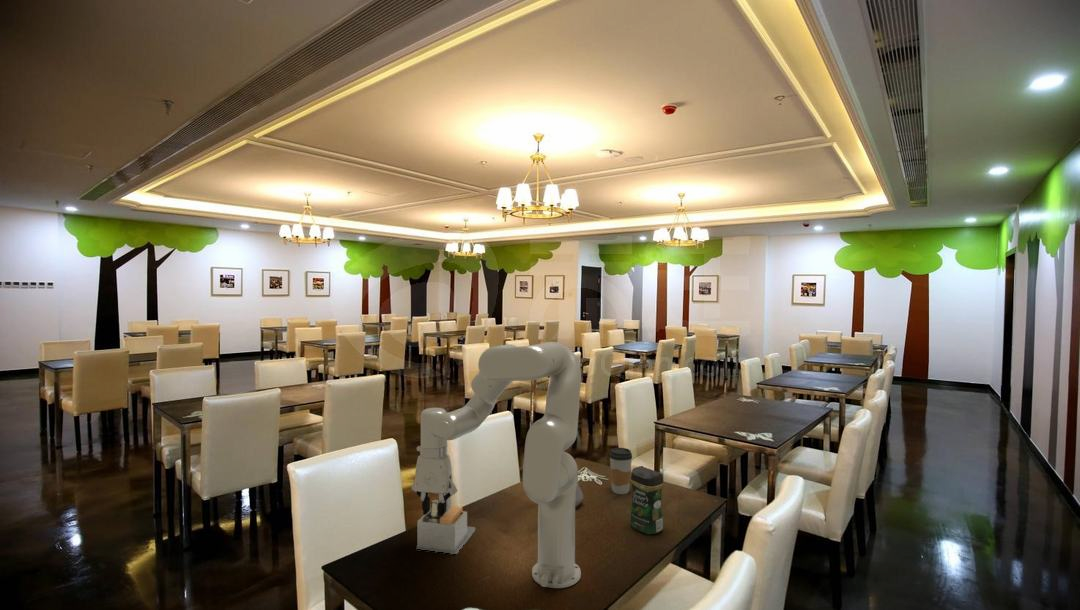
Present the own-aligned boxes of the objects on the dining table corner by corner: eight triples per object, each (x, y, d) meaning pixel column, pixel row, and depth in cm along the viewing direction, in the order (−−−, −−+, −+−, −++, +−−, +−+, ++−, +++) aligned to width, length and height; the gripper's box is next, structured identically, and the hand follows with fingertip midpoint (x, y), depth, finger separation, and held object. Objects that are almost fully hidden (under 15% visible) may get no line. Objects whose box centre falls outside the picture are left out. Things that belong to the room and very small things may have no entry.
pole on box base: (456, 554, 141) (456, 483, 141) (416, 549, 144) (416, 479, 144) (475, 530, 156) (475, 465, 156) (438, 526, 159) (438, 462, 158)
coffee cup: (635, 489, 188) (635, 449, 188) (626, 497, 181) (627, 455, 181) (614, 485, 193) (614, 446, 192) (605, 492, 186) (605, 451, 185)
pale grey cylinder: (437, 531, 147) (438, 504, 146) (428, 530, 147) (429, 502, 147) (441, 527, 149) (442, 500, 149) (432, 525, 150) (433, 499, 150)
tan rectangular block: (450, 548, 142) (450, 520, 142) (439, 547, 143) (439, 519, 143) (462, 533, 151) (462, 507, 151) (452, 532, 152) (452, 506, 152)
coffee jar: (626, 526, 159) (626, 467, 158) (642, 519, 164) (643, 462, 163) (650, 538, 151) (650, 476, 151) (667, 530, 156) (667, 470, 156)
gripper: (401, 453, 146) (401, 516, 147) (456, 457, 142) (456, 522, 143) (413, 445, 153) (413, 505, 154) (466, 449, 150) (466, 511, 150)
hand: (434, 513), depth 148 cm, fingers open, 4 cm apart
